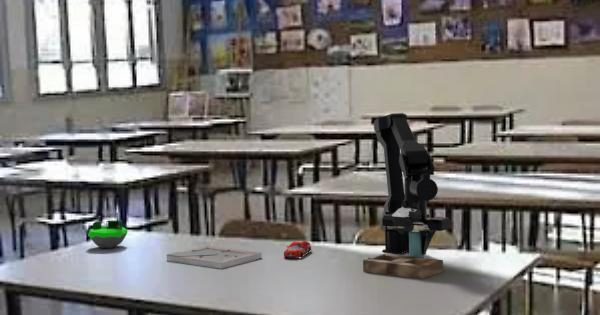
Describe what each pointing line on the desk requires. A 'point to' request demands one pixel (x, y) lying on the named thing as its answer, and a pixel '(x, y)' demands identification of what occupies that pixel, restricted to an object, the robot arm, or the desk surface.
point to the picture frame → (214, 256)
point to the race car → (297, 249)
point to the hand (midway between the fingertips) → (416, 253)
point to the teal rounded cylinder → (415, 244)
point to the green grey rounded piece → (108, 233)
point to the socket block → (403, 265)
